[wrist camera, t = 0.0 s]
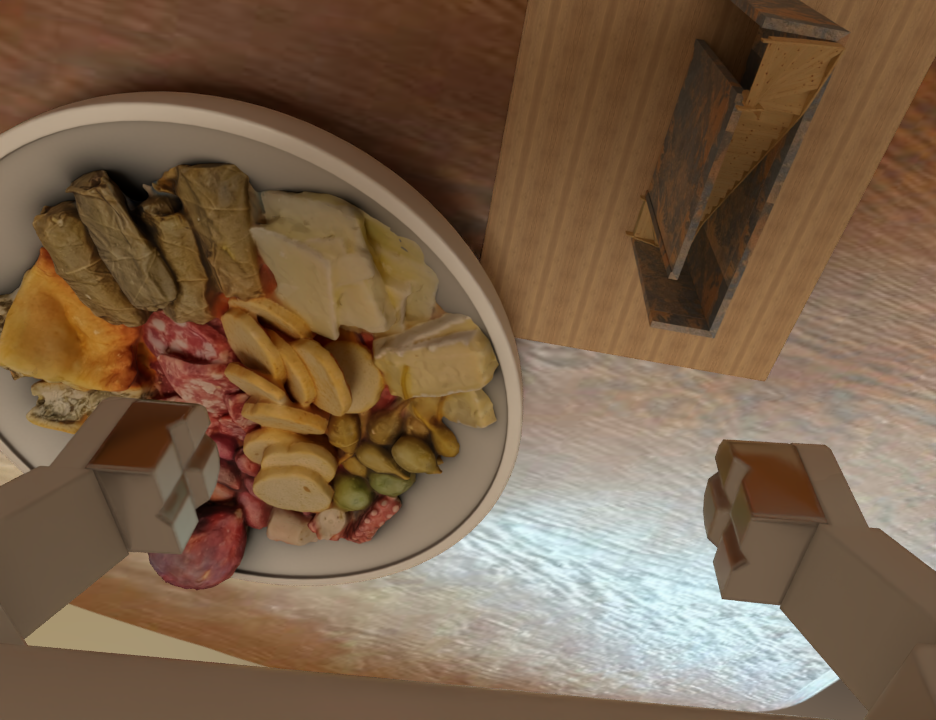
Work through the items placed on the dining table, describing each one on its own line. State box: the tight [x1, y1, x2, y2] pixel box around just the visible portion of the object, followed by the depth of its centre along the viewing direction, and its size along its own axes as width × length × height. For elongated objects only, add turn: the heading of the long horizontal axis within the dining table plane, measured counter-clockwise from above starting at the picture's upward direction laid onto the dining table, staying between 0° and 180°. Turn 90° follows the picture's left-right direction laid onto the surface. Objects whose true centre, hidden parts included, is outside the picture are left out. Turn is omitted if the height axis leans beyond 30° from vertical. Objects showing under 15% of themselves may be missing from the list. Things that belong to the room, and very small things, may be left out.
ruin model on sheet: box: [480, 0, 936, 381], centre depth 27 cm, size 25×16×10 cm, turn 171°
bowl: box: [0, 91, 523, 590], centre depth 36 cm, size 30×30×8 cm
